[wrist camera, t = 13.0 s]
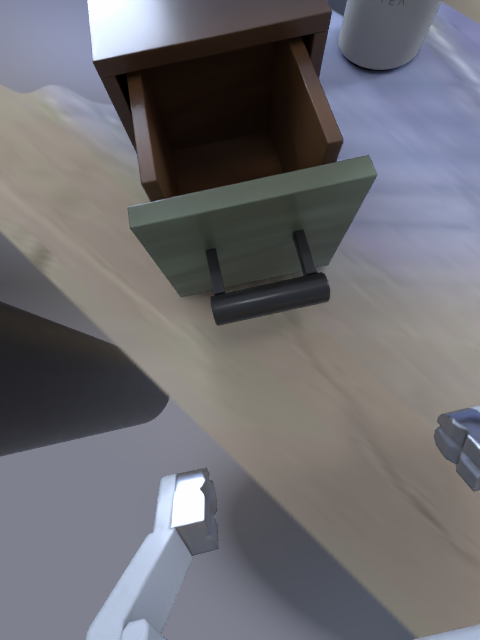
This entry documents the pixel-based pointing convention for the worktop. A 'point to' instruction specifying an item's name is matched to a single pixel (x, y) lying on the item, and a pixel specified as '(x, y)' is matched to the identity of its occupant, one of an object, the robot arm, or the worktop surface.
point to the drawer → (243, 177)
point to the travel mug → (385, 31)
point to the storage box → (192, 35)
